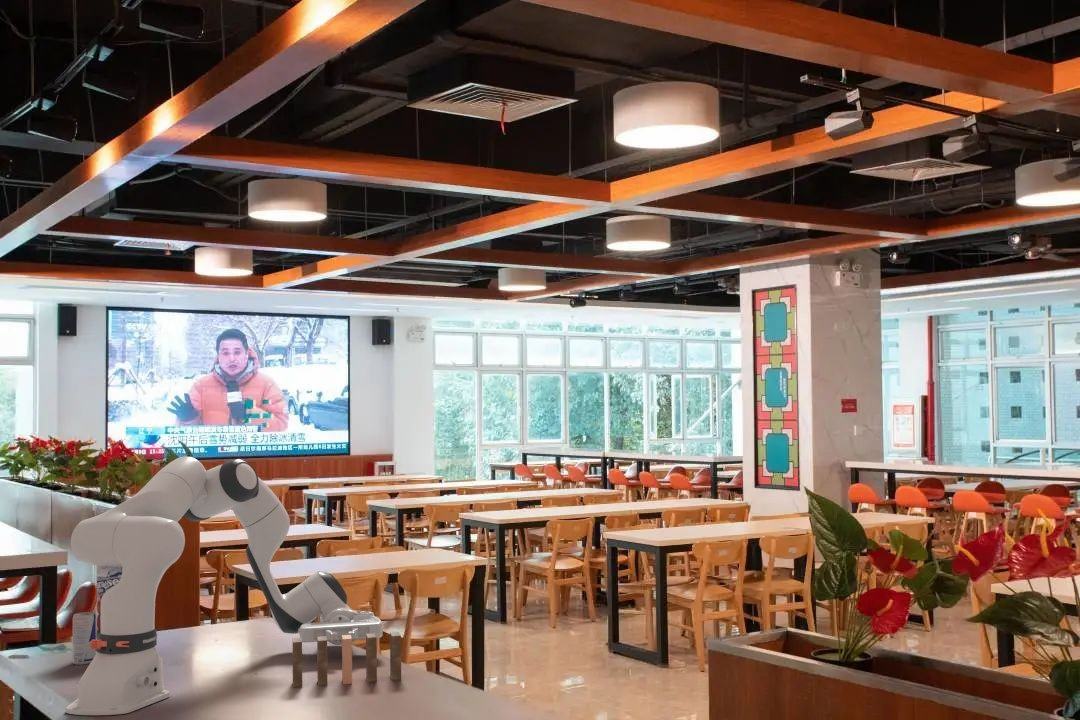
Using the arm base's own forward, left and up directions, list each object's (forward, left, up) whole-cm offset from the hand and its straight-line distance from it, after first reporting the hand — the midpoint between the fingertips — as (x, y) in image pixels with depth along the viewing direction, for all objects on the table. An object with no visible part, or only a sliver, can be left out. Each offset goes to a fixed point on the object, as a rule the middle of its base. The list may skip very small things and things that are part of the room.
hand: (342, 636), depth 270 cm
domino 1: (-19, +5, -7) cm, 21 cm away
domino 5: (-12, -16, -7) cm, 21 cm away
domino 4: (-14, -11, -7) cm, 19 cm away
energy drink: (+2, +67, -7) cm, 67 cm away
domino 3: (-15, -5, -7) cm, 18 cm away
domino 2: (-17, 0, -7) cm, 19 cm away
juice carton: (+14, +64, -7) cm, 65 cm away
